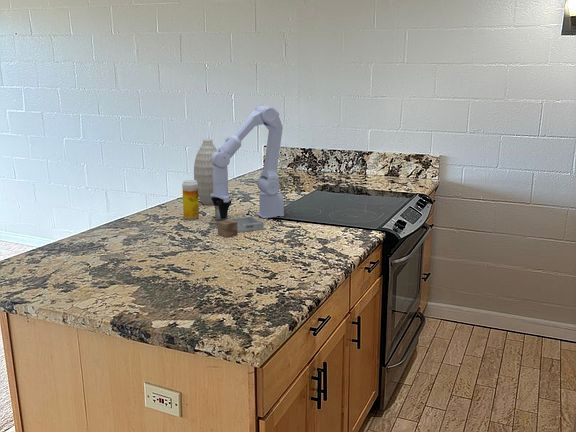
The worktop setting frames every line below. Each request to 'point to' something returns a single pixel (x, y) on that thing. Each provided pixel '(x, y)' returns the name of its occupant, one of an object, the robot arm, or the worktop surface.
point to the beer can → (190, 199)
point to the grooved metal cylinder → (218, 214)
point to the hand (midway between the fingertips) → (221, 216)
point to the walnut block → (227, 228)
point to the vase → (204, 171)
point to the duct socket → (246, 226)
